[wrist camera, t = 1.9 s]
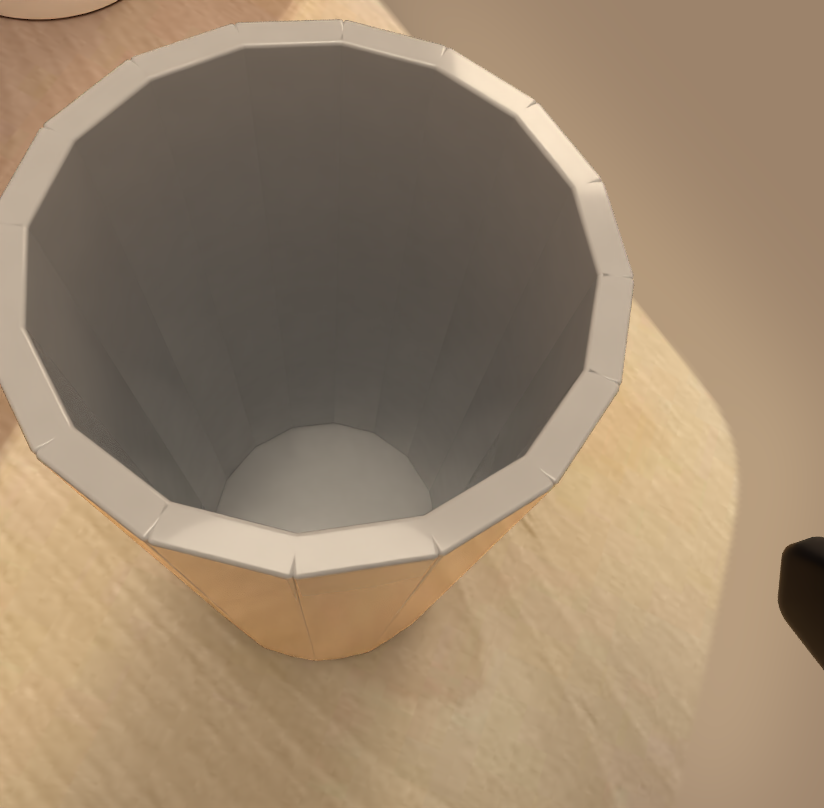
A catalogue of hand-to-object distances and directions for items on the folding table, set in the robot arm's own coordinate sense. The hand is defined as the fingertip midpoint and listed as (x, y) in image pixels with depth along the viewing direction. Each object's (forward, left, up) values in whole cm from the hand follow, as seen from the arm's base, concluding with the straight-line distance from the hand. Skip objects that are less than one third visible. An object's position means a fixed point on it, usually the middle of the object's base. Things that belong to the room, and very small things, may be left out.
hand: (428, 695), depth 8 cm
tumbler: (+4, -1, -11) cm, 12 cm away
